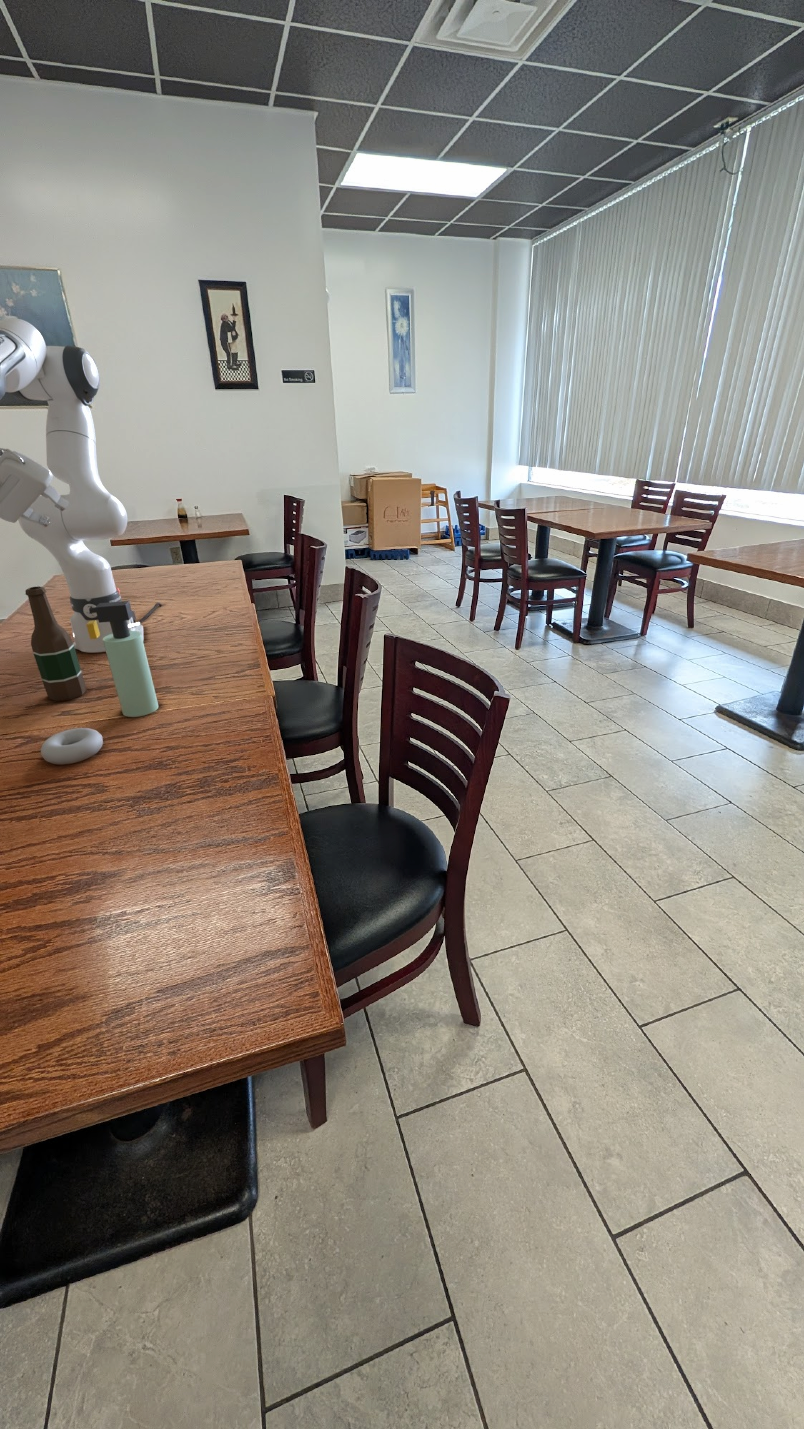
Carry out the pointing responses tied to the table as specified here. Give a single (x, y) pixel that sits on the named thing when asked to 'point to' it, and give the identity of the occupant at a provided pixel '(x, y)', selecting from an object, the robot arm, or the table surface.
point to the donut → (71, 746)
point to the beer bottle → (54, 651)
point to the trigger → (93, 629)
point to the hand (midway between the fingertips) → (57, 515)
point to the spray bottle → (127, 660)
